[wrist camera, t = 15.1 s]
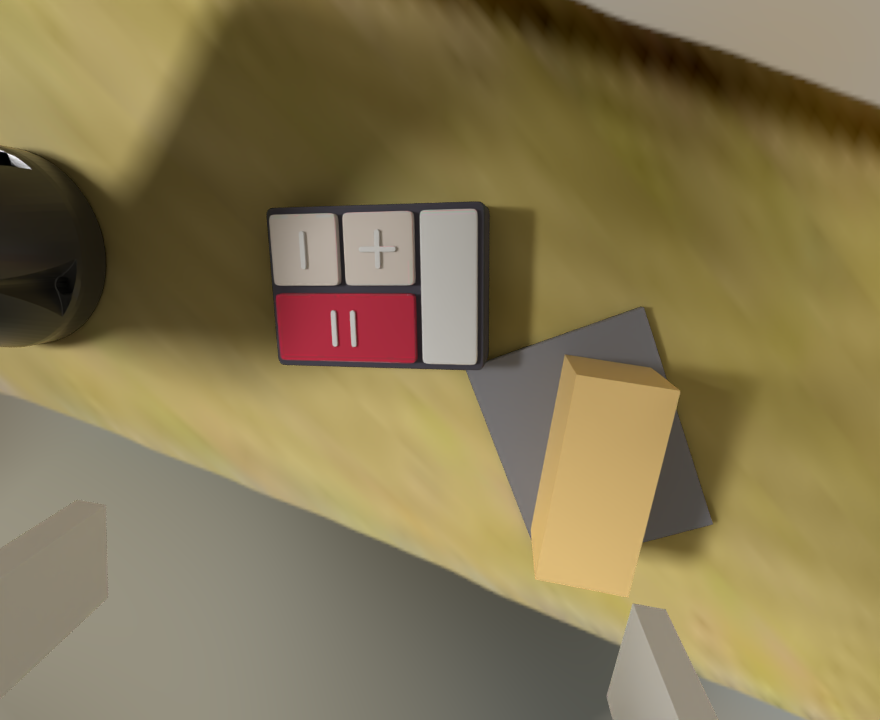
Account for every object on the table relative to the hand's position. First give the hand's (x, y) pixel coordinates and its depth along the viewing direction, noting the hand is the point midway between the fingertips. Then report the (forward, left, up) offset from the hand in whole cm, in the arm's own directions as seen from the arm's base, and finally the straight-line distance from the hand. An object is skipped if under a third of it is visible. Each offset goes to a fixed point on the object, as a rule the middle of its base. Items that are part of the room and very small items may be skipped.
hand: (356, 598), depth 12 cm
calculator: (-7, -3, -26) cm, 27 cm away
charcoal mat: (+9, +7, -26) cm, 28 cm away
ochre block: (+15, +4, -22) cm, 27 cm away
